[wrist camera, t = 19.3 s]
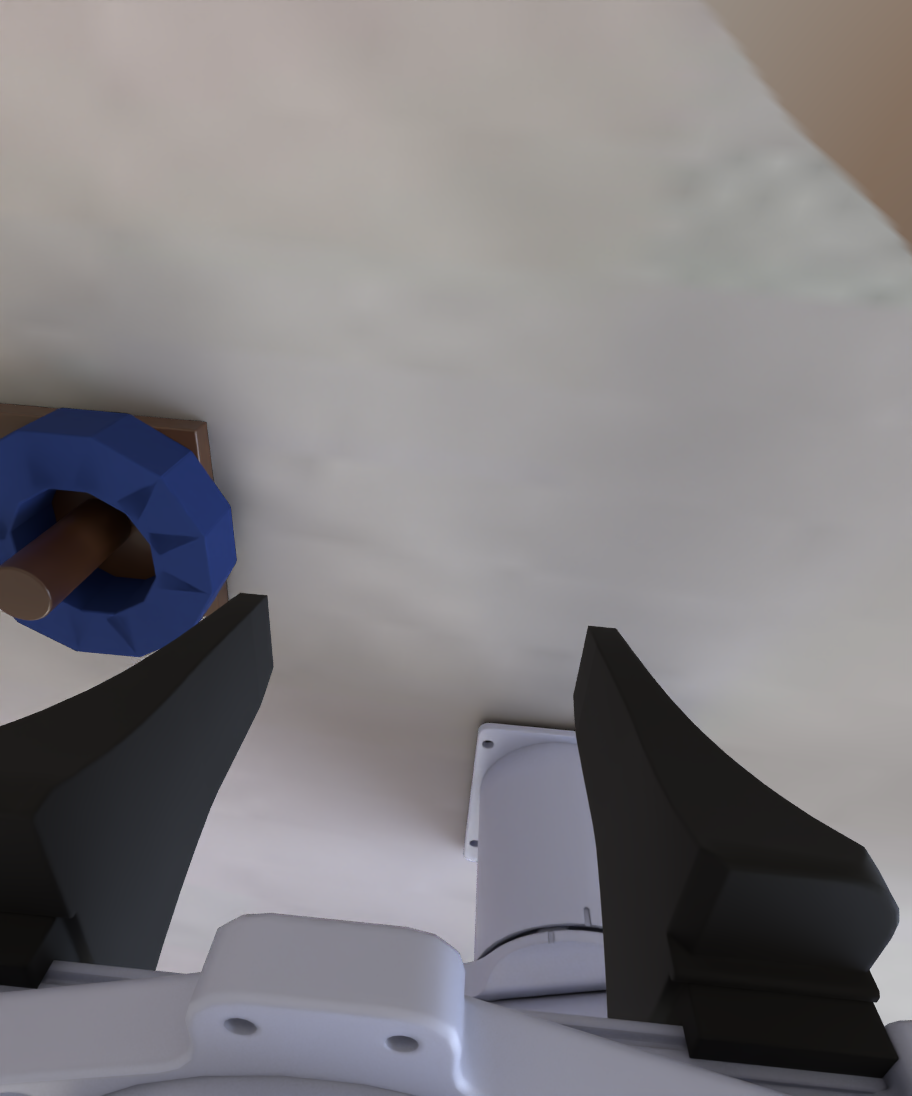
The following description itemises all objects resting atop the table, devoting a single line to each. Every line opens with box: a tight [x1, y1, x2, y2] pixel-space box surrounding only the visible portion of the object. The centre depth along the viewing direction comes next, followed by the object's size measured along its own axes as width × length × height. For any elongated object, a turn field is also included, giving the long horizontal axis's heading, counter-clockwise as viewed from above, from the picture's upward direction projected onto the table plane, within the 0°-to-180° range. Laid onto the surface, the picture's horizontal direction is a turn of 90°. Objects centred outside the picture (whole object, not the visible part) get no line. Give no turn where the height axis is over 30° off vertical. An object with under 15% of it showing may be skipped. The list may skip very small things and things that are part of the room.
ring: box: [0, 408, 237, 657], centre depth 23 cm, size 9×9×2 cm
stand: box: [0, 403, 228, 621], centre depth 23 cm, size 8×8×6 cm
